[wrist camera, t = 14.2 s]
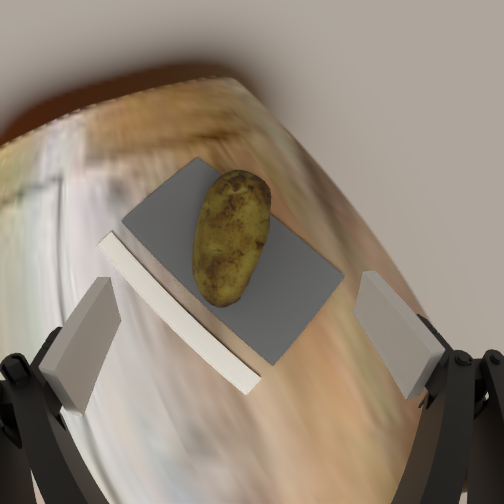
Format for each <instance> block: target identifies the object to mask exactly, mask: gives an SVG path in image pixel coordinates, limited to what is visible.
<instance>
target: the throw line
mask: <svg viewBox="0 0 504 504" xmlns="http://www.w3.org/2000/svg"><path fill="white" fill-rule="evenodd" d="M98 246H99V248H100V249H101V250H102V251H103V253H104V254H105V255H106V256H107V258H108V259H109V260H110V261H111V262H112V264H113V265H114V266H115V267H116V268H117V270H118V271H119V272H120V273H121V274H122V275H123V277H124V278H125V279H126V280H127V281H128V282H129V283H130V285H131V286H132V287H133V288H134V289H135V290H136V291H137V292H138V293H139V295H140V296H141V297H142V298H143V299H144V300H145V301H146V302H147V303H148V304H149V305H150V306H151V307H152V309H153V310H154V311H155V312H156V313H157V314H158V315H159V316H160V317H161V318H162V319H163V320H164V321H165V322H166V323H167V324H168V325H169V326H170V327H171V328H172V329H173V330H174V331H175V332H176V333H177V334H178V335H179V336H180V337H181V338H182V339H183V340H184V341H185V342H186V343H187V344H188V345H189V346H190V347H192V348H193V349H194V350H195V351H196V352H197V353H198V354H199V355H200V356H201V357H202V358H203V359H204V360H206V361H207V362H208V363H209V364H210V365H211V366H212V367H213V368H215V369H216V370H217V371H218V372H219V373H220V374H221V375H222V376H224V377H225V378H226V379H227V380H228V381H229V382H231V383H232V384H233V385H234V386H235V387H237V388H238V389H239V390H240V391H241V392H243V393H244V394H245V395H247V394H248V393H249V392H250V391H251V389H252V388H253V387H254V386H255V385H256V384H257V383H258V382H259V381H260V380H261V379H262V378H260V377H259V376H258V375H257V374H255V373H254V372H253V371H252V370H251V369H249V368H248V367H247V366H246V365H245V364H244V363H242V362H241V361H240V360H239V359H238V358H237V357H235V356H234V355H233V354H232V353H231V352H230V351H229V350H228V349H226V348H225V347H224V346H223V345H222V344H221V343H220V342H219V341H217V340H216V339H215V338H214V337H213V336H212V335H211V334H210V333H209V332H208V331H207V330H205V329H204V328H203V327H202V326H201V325H200V324H199V323H198V322H197V321H196V320H195V319H194V318H193V317H192V316H191V315H190V314H189V313H188V312H187V311H185V310H184V309H183V308H182V307H181V306H180V305H179V304H178V303H177V302H176V301H175V300H174V299H173V298H172V297H171V296H170V295H169V294H168V293H167V292H166V291H165V290H164V289H163V288H162V287H161V285H160V284H159V283H158V282H157V281H156V280H155V279H154V278H153V277H152V276H151V275H150V274H149V273H148V272H147V271H146V270H145V269H144V268H143V267H142V265H141V264H140V263H139V262H138V261H137V260H136V259H135V258H134V257H133V256H132V255H131V253H130V252H129V251H128V250H127V249H126V248H125V247H124V246H123V245H122V243H121V242H120V241H119V240H118V239H117V238H116V237H115V235H114V234H113V233H112V232H110V233H109V234H108V235H107V236H106V237H105V238H104V239H103V240H102V241H101V242H100V243H99V244H98Z"/></svg>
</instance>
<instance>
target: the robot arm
mask: <svg viewBox="0 0 504 504" xmlns="http://www.w3.org/2000/svg"><path fill="white" fill-rule="evenodd" d="M353 314H354V315H355V317H356V318H357V320H358V322H359V323H360V325H361V326H362V328H363V329H364V331H365V333H366V334H367V336H368V337H369V339H370V341H371V342H372V344H373V345H374V347H375V349H376V350H377V352H378V354H379V355H380V357H381V358H382V360H383V362H384V363H385V365H386V367H387V368H388V370H389V372H390V373H391V375H392V377H393V379H394V380H395V382H396V384H397V385H398V387H399V389H400V391H401V392H402V394H403V396H404V397H405V399H406V400H407V399H410V398H413V397H416V396H419V395H420V393H421V392H422V390H423V389H424V387H426V388H427V390H428V393H427V394H426V396H425V397H424V399H423V400H422V402H421V403H420V405H419V407H418V408H421V406H422V405H423V404H424V405H423V409H422V414H421V418H420V422H419V426H418V429H417V433H416V437H415V440H414V443H413V447H412V450H411V453H410V456H409V459H408V462H407V465H406V468H405V471H404V473H403V476H402V479H401V481H400V484H399V486H398V489H397V491H396V494H395V496H394V498H393V501H392V503H391V504H459V500H460V496H461V493H462V492H467V504H504V356H503V355H502V354H501V353H500V352H499V351H497V350H493V349H491V350H488V351H486V353H485V354H484V356H483V358H482V359H473V358H472V357H471V356H470V355H469V354H468V353H466V352H464V351H462V350H453V349H452V348H451V347H450V345H449V344H448V343H447V342H446V341H445V339H444V338H443V337H442V336H441V335H440V334H439V333H437V330H436V329H435V328H434V327H433V326H432V325H431V323H430V322H429V321H428V320H427V319H425V318H424V317H422V316H421V315H419V314H415V313H414V312H413V311H412V310H411V309H410V308H409V306H408V305H407V304H406V303H405V302H404V301H403V300H402V299H401V298H400V297H399V296H398V294H397V293H396V292H395V291H394V290H393V289H392V288H391V287H390V286H389V285H388V284H387V283H386V282H385V281H384V280H383V278H382V277H381V276H380V275H379V274H378V273H377V272H376V271H363V274H362V278H361V283H360V288H359V292H358V296H357V301H356V305H355V309H354V313H353ZM120 322H121V318H120V314H119V311H118V307H117V303H116V299H115V295H114V291H113V287H112V282H111V278H110V277H97V279H96V280H95V281H94V283H93V284H92V285H91V287H90V288H89V290H88V291H87V292H86V294H85V295H84V297H83V298H82V299H81V301H80V302H79V304H78V305H77V307H76V308H75V309H74V311H73V312H72V314H71V315H70V317H69V318H68V320H67V321H66V323H65V324H64V326H63V327H57V328H56V329H55V330H54V331H52V332H51V333H50V334H49V336H48V337H47V339H46V342H44V344H43V345H42V348H40V350H39V352H38V353H37V355H36V356H35V358H34V360H33V361H32V363H31V365H29V364H28V362H27V360H26V358H25V356H24V355H22V354H21V353H14V354H10V355H9V356H7V357H6V358H5V359H4V360H3V361H2V362H1V364H0V372H1V373H2V375H3V376H4V378H5V379H6V380H0V504H37V503H36V498H35V493H34V487H33V482H32V475H31V470H32V473H33V476H34V478H35V481H36V483H37V486H38V488H39V490H40V493H41V495H42V497H43V499H44V502H45V504H109V502H108V501H107V499H106V498H105V496H104V495H103V493H102V492H101V490H100V488H99V487H98V485H97V484H96V482H95V480H94V479H93V477H92V475H91V473H90V472H89V470H88V468H87V466H86V464H85V463H84V461H83V459H82V457H81V455H80V453H79V451H78V449H77V447H76V445H75V443H74V441H73V439H72V436H71V434H70V432H69V430H68V427H67V425H66V423H65V420H64V418H63V416H62V414H61V413H60V409H61V407H62V405H63V407H64V408H65V410H66V411H67V412H68V413H69V414H73V415H77V416H82V417H83V416H84V413H85V410H86V407H87V404H88V402H89V399H90V396H91V393H92V391H93V388H94V385H95V383H96V380H97V377H98V375H99V372H100V370H101V367H102V365H103V362H104V360H105V357H106V355H107V352H108V350H109V348H110V345H111V343H112V341H113V338H114V336H115V334H116V331H117V329H118V327H119V325H120ZM487 392H488V394H489V398H488V399H487V400H486V398H485V395H486V393H487ZM30 468H31V469H30Z"/></svg>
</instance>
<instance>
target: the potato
mask: <svg viewBox="0 0 504 504" xmlns="http://www.w3.org/2000/svg"><path fill="white" fill-rule="evenodd" d="M270 206H271V193H270V188H269V187H268V186H267V184H266V183H265V181H263V180H262V179H261V178H259V177H258V176H256V175H254V174H252V173H250V172H248V171H243V170H234V171H231V172H228V173H225V174H224V175H222V176H220V177H219V178H218V179H217V180H216V181H215V182H214V183H213V184H212V186H211V187H210V188H209V190H208V191H207V193H206V195H205V198H204V201H203V204H202V208H201V211H200V214H199V216H198V221H197V226H196V232H195V237H194V243H193V253H192V271H193V276H194V279H195V281H196V284H197V286H198V289H199V291H200V293H201V295H202V297H203V298H204V299H205V300H206V301H207V302H208V303H210V304H211V305H214V306H215V307H218V308H224V307H228V306H230V305H231V304H233V303H236V302H237V301H239V299H241V295H242V294H243V292H244V290H245V288H246V287H247V286H248V284H249V282H250V278H251V276H252V273H253V271H254V269H255V267H256V265H257V263H258V261H259V258H260V256H261V253H262V251H263V248H264V245H265V243H266V241H267V237H268V233H269V228H270Z"/></svg>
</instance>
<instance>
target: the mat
mask: <svg viewBox="0 0 504 504" xmlns="http://www.w3.org/2000/svg"><path fill="white" fill-rule="evenodd" d="M220 176H222V175H221V174H219V173H218V172H217V171H215V170H214V169H213V168H211V167H210V166H209V165H207V164H206V163H205V162H203V161H202V160H201V159H200V158H198V157H197V158H196V159H194V160H193V161H192V162H190V163H189V164H188V165H187V166H185V167H184V168H183V169H181V170H180V171H179V172H178V173H176V174H175V175H174V176H173V177H171V178H170V179H169V180H168V181H167V182H165V183H164V184H163V185H162V186H160V187H159V188H158V189H157V190H156V191H154V192H153V193H152V194H151V195H150V196H149V197H147V198H146V199H145V200H144V201H143V202H142V203H141V204H139V205H138V206H137V207H136V208H135V209H134V210H133V211H132V212H130V213H129V214H128V215H127V216H126V217H125V218H124V219H123V220H122V223H123V224H124V225H125V226H126V227H127V228H128V229H129V230H130V231H131V232H132V233H133V235H134V236H135V237H136V238H137V239H138V240H139V241H140V242H141V243H142V244H143V245H144V246H145V247H146V248H147V249H148V250H149V251H150V252H151V254H152V255H153V256H154V257H155V258H156V259H157V260H158V261H159V262H160V263H161V264H162V265H163V266H164V267H165V268H166V269H167V270H168V271H169V272H170V273H171V274H172V275H173V276H174V277H175V278H176V279H177V280H178V281H179V282H180V283H181V284H182V285H183V286H184V287H185V288H186V289H187V290H189V291H190V292H191V293H192V294H193V295H194V296H195V297H196V298H197V299H198V300H199V301H200V302H201V303H202V304H203V305H204V306H205V307H206V308H208V309H209V310H210V311H211V312H212V313H213V314H214V315H215V316H216V317H217V318H218V319H219V320H221V321H222V322H223V323H224V324H225V325H226V326H227V327H228V328H229V329H231V330H232V331H233V332H234V333H235V334H236V335H237V336H238V337H240V338H241V339H242V340H243V341H244V342H245V343H246V344H248V345H249V346H250V347H251V348H252V349H253V350H255V351H256V352H257V353H258V354H259V355H260V356H262V357H263V358H264V359H265V360H266V361H268V362H269V363H270V364H271V365H272V366H273V365H274V364H275V363H276V362H277V361H278V360H279V359H280V357H281V356H282V355H283V354H284V353H285V352H286V350H287V349H288V348H289V347H290V346H291V345H292V343H293V342H294V341H295V340H296V338H297V337H298V336H299V335H300V334H301V332H302V331H303V330H304V329H305V327H306V326H307V325H308V324H309V323H310V321H311V320H312V319H313V317H314V316H315V315H316V314H317V312H318V311H319V310H320V309H321V307H322V306H323V305H324V303H325V302H326V301H327V299H328V298H329V297H330V295H331V294H332V293H333V291H334V290H335V289H336V287H337V286H338V285H339V283H340V282H341V281H342V279H343V278H344V277H345V276H344V275H343V274H342V273H340V272H339V271H338V270H337V269H336V268H335V267H334V266H332V265H331V264H330V263H329V262H328V261H327V260H325V259H324V258H323V257H322V256H321V255H319V254H318V253H317V252H316V251H315V250H314V249H312V248H311V247H310V246H309V245H308V244H306V243H305V242H304V241H303V240H302V239H300V238H299V237H298V236H297V235H296V234H294V233H293V232H292V231H291V230H290V229H288V228H287V227H286V226H285V225H284V224H282V223H281V222H280V221H279V220H277V219H276V218H275V217H274V216H273V215H271V214H270V228H269V233H268V237H267V241H266V243H265V245H264V248H263V251H262V253H261V256H260V258H259V261H258V263H257V265H256V267H255V269H254V271H253V273H252V276H251V278H250V282H249V284H248V286H247V287H246V288H245V290H244V292H243V294H242V295H241V299H239V301H237V302H236V303H233V304H231V305H230V306H228V307H224V308H218V307H215V306H214V305H211V304H210V303H208V302H207V301H206V300H205V299H204V298H203V297H202V295H201V293H200V291H199V289H198V286H197V284H196V281H195V279H194V276H193V271H192V253H193V243H194V237H195V232H196V226H197V221H198V216H199V214H200V211H201V208H202V204H203V201H204V198H205V195H206V193H207V191H208V190H209V188H210V187H211V186H212V184H213V183H214V182H215V181H216V180H217V179H218V178H219V177H220Z"/></svg>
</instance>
